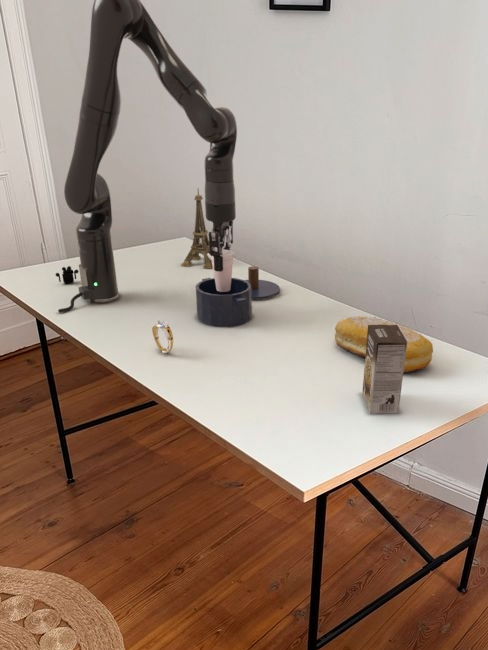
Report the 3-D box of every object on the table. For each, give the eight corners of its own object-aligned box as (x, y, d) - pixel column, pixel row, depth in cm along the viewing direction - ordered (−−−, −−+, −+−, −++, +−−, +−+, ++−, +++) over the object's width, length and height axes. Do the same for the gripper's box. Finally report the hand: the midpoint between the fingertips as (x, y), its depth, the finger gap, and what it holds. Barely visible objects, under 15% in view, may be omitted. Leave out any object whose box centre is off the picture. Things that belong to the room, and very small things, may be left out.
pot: (218, 334, 176) (217, 302, 171) (184, 310, 190) (181, 280, 185) (266, 323, 183) (266, 292, 178) (229, 300, 196) (229, 271, 192)
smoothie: (237, 286, 184) (235, 232, 176) (233, 294, 179) (232, 239, 171) (213, 285, 185) (211, 231, 177) (209, 293, 180) (206, 238, 172)
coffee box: (360, 394, 150) (367, 324, 141) (389, 393, 150) (397, 323, 141) (368, 414, 142) (375, 341, 133) (399, 413, 143) (408, 341, 134)
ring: (177, 355, 165) (174, 324, 160) (165, 359, 163) (162, 327, 159) (163, 346, 170) (160, 315, 165) (151, 349, 168) (148, 318, 163)
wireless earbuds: (79, 280, 210) (76, 263, 207) (82, 282, 208) (79, 266, 205) (56, 284, 206) (53, 267, 203) (59, 286, 205) (56, 270, 202)
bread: (407, 382, 155) (411, 349, 150) (321, 347, 170) (323, 316, 166) (441, 364, 163) (446, 333, 158) (356, 332, 178) (359, 303, 174)
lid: (244, 304, 194) (243, 279, 190) (217, 288, 205) (217, 264, 201) (290, 295, 201) (290, 270, 197) (262, 280, 212) (262, 256, 208)
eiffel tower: (180, 265, 223) (175, 183, 208) (192, 256, 231) (188, 177, 217) (211, 269, 220) (207, 186, 206) (222, 259, 229) (219, 179, 214)
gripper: (213, 192, 176) (216, 257, 185) (196, 205, 164) (200, 274, 173) (242, 194, 174) (243, 259, 184) (226, 207, 163) (228, 276, 172)
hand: (222, 266), depth 179 cm, fingers closed on smoothie, 6 cm apart
